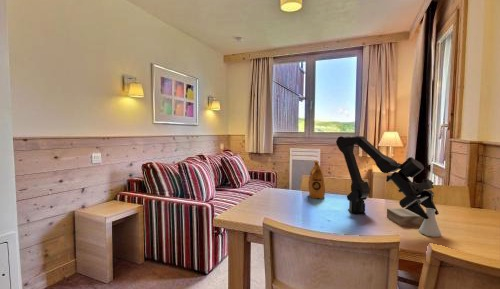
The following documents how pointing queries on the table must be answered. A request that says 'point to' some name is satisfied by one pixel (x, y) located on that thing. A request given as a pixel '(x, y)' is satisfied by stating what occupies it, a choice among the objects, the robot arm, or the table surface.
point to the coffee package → (316, 182)
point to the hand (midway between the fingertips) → (432, 216)
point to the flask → (430, 224)
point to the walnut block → (404, 217)
